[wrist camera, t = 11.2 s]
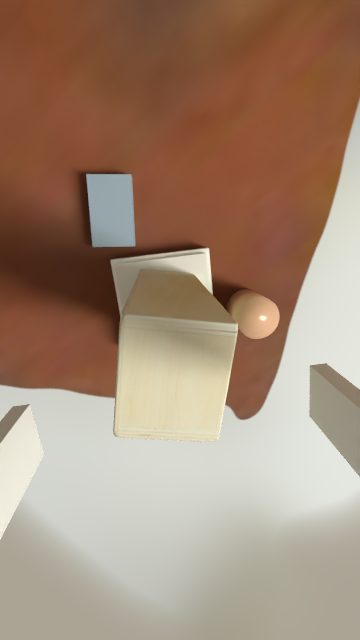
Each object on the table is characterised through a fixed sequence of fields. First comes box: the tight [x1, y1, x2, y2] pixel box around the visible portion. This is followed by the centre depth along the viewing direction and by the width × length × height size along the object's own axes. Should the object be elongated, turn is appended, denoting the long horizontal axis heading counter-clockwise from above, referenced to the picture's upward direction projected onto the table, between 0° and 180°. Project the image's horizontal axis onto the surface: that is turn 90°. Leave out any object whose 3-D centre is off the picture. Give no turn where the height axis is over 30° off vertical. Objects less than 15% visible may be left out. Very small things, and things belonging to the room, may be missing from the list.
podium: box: [110, 248, 213, 316], centre depth 39 cm, size 12×12×3 cm
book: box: [86, 174, 135, 247], centre depth 36 cm, size 8×5×2 cm, turn 1°
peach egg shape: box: [227, 289, 279, 339], centre depth 38 cm, size 5×5×6 cm
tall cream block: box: [113, 269, 238, 442], centre depth 27 cm, size 8×7×21 cm
